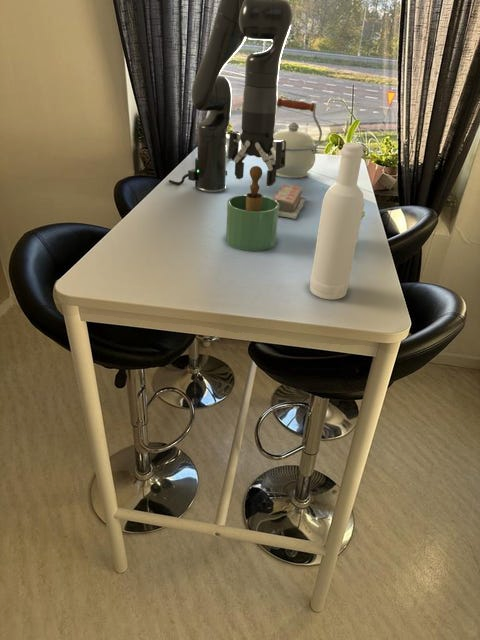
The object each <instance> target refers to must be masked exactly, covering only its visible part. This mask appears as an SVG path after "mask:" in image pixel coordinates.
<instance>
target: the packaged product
mask: <svg viewBox="0 0 480 640" xmlns="http://www.w3.org/2000/svg"><path fill="white" fill-rule="evenodd" d="M302 195H303V188H302V187H300V186H296V185H290V184H283V185H282V186H281V187H280V188H279V190H278V191H277V192H276V193H275V194H274V195H273V197H271V198H272V199H274V200H276V201H277V202H278V203H279V216H278V217H282V218H289V219H293V220H296V218H297V216H298V215H299V213H300V211H301V210H302V209H303V206H304V204H305V203H306V201H307V197H305V196H302Z"/></svg>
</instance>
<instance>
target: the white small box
mask: <svg viewBox="0 0 480 640" xmlns="http://www.w3.org/2000/svg"><path fill="white" fill-rule="evenodd" d="M229 138H230V134H227V152H226V157H228V149H229ZM241 148H242V142H241V140H240V142H239V146H238V152H239V151H240V149H241Z"/></svg>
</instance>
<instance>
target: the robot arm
mask: <svg viewBox="0 0 480 640" xmlns="http://www.w3.org/2000/svg"><path fill="white" fill-rule="evenodd" d="M292 23H293V9H292V7H291V4H290V2H288V1H287V0H220V1H219V3H218V7H217V10H216V14H215V17H214V21H213V25H212V29H211V33H210V36H209V39H208V43H207V45H206V49H205V52H204V55H203V57H202V60H201V61H200V65H199V67H198V70H197V73H196V75H195V78H194V79H193V83H192V87H191V102H192V105H193V107H194V109H196V110H198V111H201V112H209V114H208V115H207V116H206V118H205V119H203V120H201V121H200V122H199V123H198V124H197V157H195V158H194V168H191V169H189V170H187V173H186V174H184V175H183V176H182V177H181V181H175V180H172V179H168V183H170V184H173V185H177V186H178V185H179V186H180V185H182V184H184V182H185V179H186V178H187V179H188V181H192V182H194V187H195V188H196V189H197V190H198V191H201V192H204V193H211V194H213V193H221V192H224V191H225V190H226V188H227V187H226V184H227V183H226V179H227V176H228V171H227V158H228V159H229V160H232V161H233V162H234V176H235V179H236V180H242V179H243V178H244V173H245V162H244V160H245V159H246V158H247V156H250V157H256V158H258V159H260V158H261V160H262V162H263V163H264V164H265V165H266V167H267V170H266V171H267V172H266V183H265V185H266V187H268V188H269V187H272V186H273V185H274V184H276V182H277V181H276V180H277V179H276V178H277V176H276V171H277V169H281V168H283V167H284V166H285V155H286V141H285V140H282V141H276V140H274V137H273V134H275V129H276V118H277V113H276V109H277V99H278V82H279V71H280V64H281V58H282V55H283V50H284V47H285V45H286V41H287V38H288V36H289V33H290V30H291V26H292ZM246 39H248V40H253V41H254V40H255V41H257V40H259V41H271V42H272V44H271V46H270V47H269V48H268V49H267V50H265V51H262V52H261V51H260V52H255V53H251V54H249V55H247V57H246V59H245V75H244V90H243V95H242V110H241V130H242V131H241V132H239V131H232V132H230V133H229V135H230V138H229V149H228V156H226V152H227V135H228V129H229V126H230V124H231V123H230V121H231V111H232V95H233V94H232V93H233V92H232V86H231V83H230V81H229V79H228V78H226V77H225V76H223V75H220V74H221V72H222V70H223V69H224V68H225V66H226V65H227V63H228V62H229V61H230V60H231V59H232V57H233V56H234V55H235V54H236V53H237V52H238V51H239V50H240V49H241V47H242V46H243V44H244V42H245V41H246ZM240 140H241V145H242V146H241V149H240V151H239V152H238V146H239V142H240ZM273 146H274V150H275V151H276V161H275V156H274V154H273V152H272V150H271V148H272V147H273ZM267 154H268V156H267Z"/></svg>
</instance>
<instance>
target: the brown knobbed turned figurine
mask: <svg viewBox="0 0 480 640" xmlns="http://www.w3.org/2000/svg"><path fill="white" fill-rule="evenodd" d="M249 175H250V179H251V184H250V186H249V187H250V192H249V193H247V194H246V195H247V196H246V211H261V205H262V196H263V195H262V194H261V193H260V192H259V191H260V188H261V186H260V185H259V181H260V179H261V178H262V176H263V169H262V168H261V166H258V165H253V166H251V168H250V169H249Z"/></svg>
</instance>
